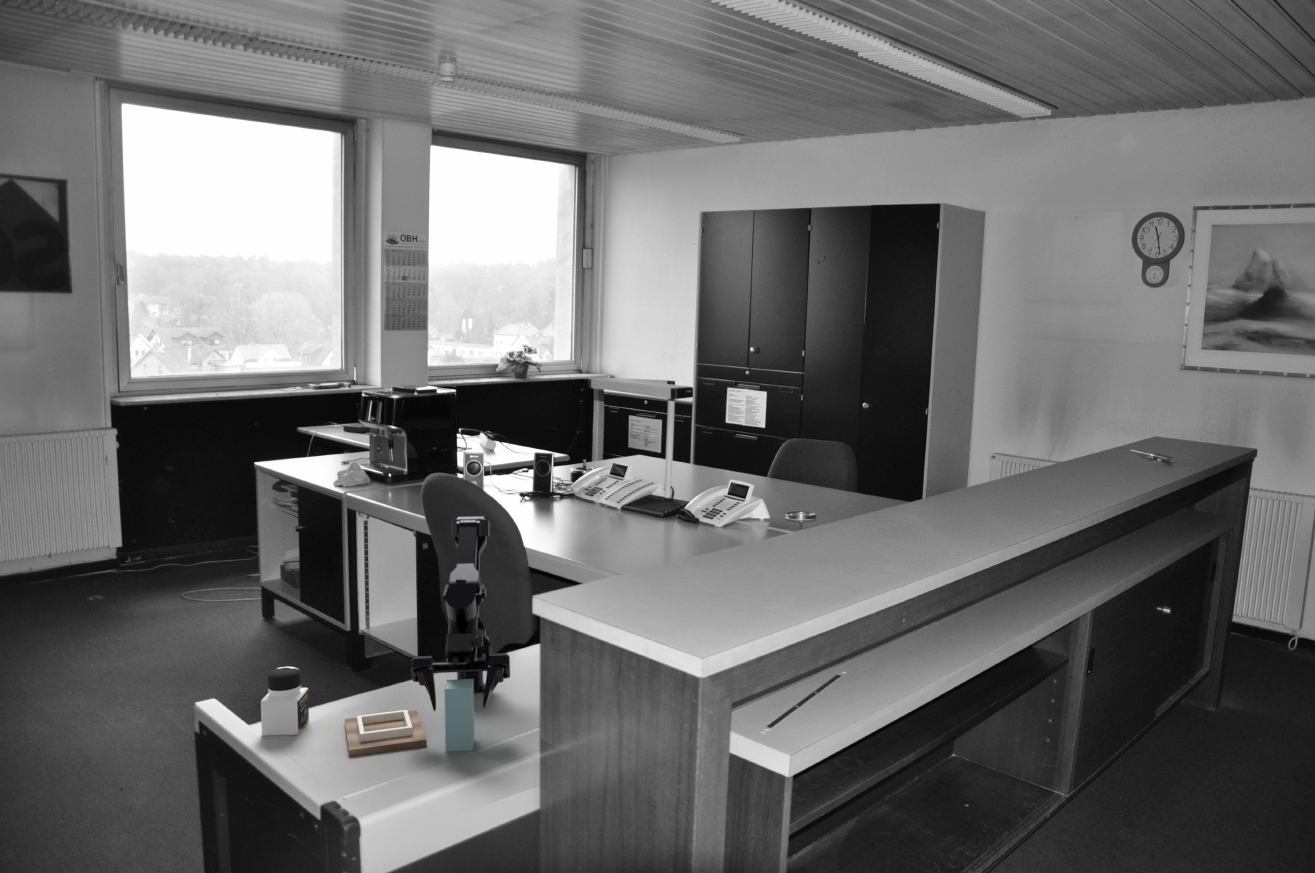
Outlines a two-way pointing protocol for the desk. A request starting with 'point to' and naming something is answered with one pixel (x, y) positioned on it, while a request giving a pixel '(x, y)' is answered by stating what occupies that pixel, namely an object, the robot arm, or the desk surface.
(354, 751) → the wooden tray with frame
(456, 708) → the pale blue tall block
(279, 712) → the medicine bottle
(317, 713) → the desk surface
